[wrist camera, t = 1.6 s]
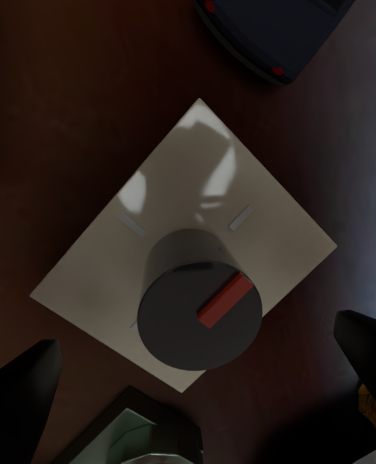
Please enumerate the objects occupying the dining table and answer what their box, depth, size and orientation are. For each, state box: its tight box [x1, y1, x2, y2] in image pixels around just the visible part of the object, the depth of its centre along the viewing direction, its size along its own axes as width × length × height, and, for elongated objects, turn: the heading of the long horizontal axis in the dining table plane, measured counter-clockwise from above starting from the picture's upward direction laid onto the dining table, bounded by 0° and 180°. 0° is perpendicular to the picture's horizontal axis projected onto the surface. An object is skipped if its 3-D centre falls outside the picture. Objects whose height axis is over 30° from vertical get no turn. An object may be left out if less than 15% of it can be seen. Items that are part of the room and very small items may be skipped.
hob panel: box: [30, 98, 337, 393], centre depth 14 cm, size 12×10×3 cm
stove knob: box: [137, 229, 263, 371], centre depth 10 cm, size 4×4×4 cm
